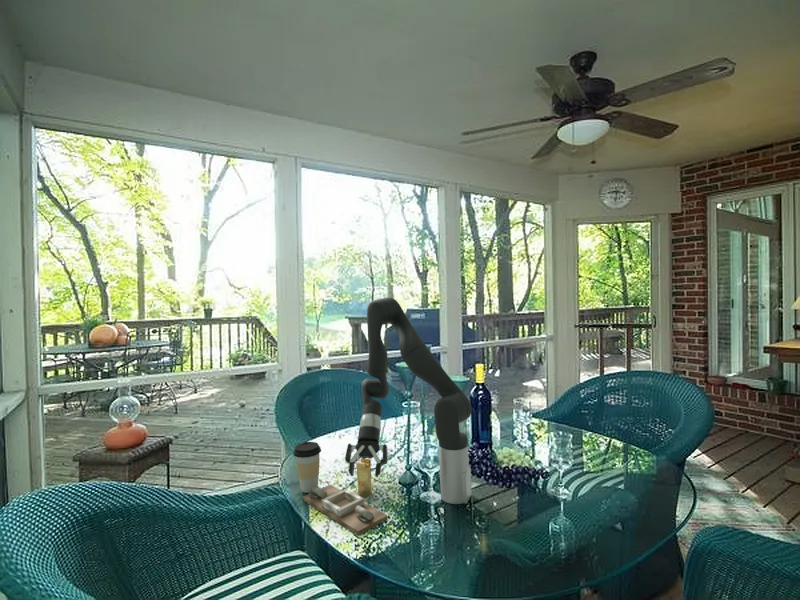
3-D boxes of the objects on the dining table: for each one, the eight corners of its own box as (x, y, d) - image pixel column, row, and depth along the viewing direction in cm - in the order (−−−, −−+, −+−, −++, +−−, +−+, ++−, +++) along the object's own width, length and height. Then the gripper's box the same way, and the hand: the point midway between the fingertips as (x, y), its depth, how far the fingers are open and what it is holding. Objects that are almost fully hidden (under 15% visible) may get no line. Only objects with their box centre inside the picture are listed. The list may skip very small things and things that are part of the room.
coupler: (374, 491, 151) (372, 459, 150) (368, 497, 147) (366, 465, 146) (362, 489, 153) (360, 457, 152) (355, 495, 148) (353, 463, 148)
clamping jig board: (387, 519, 134) (386, 506, 133) (358, 535, 126) (357, 522, 126) (330, 487, 155) (329, 477, 154) (302, 500, 147) (302, 488, 147)
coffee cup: (313, 479, 161) (310, 438, 160) (328, 487, 155) (326, 445, 154) (290, 489, 155) (287, 446, 154) (305, 498, 148) (302, 454, 147)
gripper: (348, 424, 158) (340, 470, 148) (388, 425, 156) (383, 472, 146) (352, 433, 164) (345, 479, 153) (391, 434, 162) (386, 480, 151)
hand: (364, 475), depth 150 cm, fingers open, 8 cm apart
